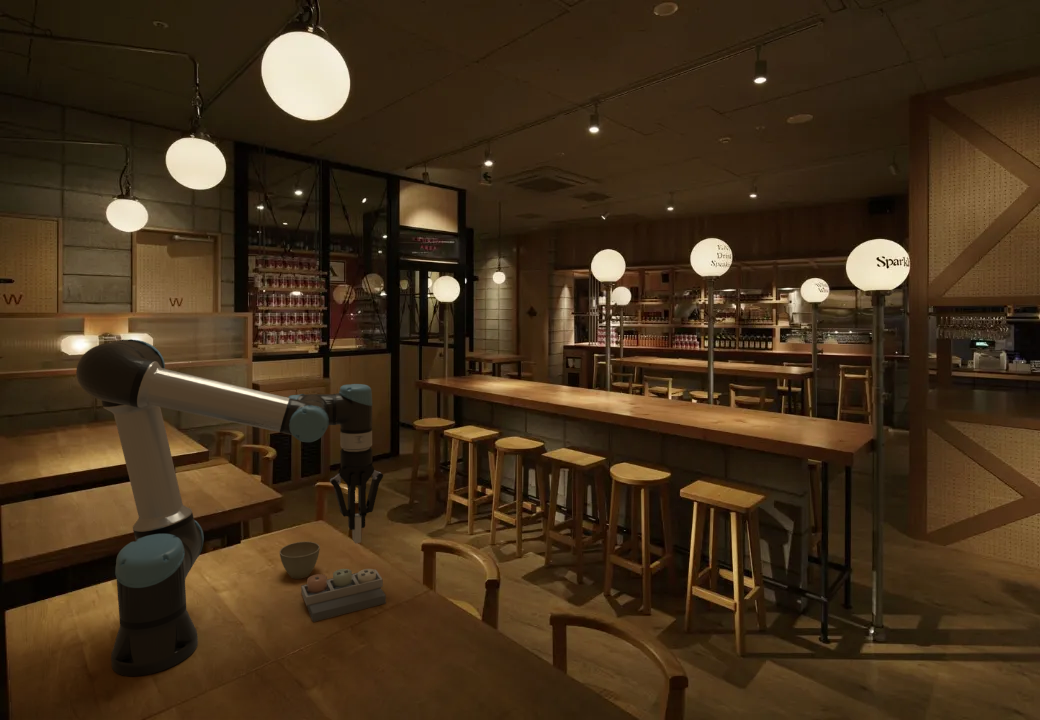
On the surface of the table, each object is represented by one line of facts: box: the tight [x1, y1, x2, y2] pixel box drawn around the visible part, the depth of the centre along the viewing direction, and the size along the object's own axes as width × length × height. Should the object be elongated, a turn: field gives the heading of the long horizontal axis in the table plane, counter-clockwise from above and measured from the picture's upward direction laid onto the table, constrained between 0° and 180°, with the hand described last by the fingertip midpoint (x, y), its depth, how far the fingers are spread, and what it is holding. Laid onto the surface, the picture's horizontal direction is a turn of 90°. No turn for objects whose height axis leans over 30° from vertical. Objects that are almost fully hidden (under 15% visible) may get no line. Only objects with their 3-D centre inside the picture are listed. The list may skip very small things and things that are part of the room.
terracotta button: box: [306, 573, 328, 593], centre depth 139 cm, size 4×4×3 cm
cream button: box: [357, 568, 376, 584], centre depth 145 cm, size 4×4×3 cm
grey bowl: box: [279, 541, 321, 580], centre depth 154 cm, size 10×10×7 cm
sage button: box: [332, 568, 353, 587], centre depth 142 cm, size 4×4×3 cm
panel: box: [300, 568, 387, 623], centre depth 143 cm, size 18×15×4 cm
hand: (356, 540), depth 143 cm, fingers closed
